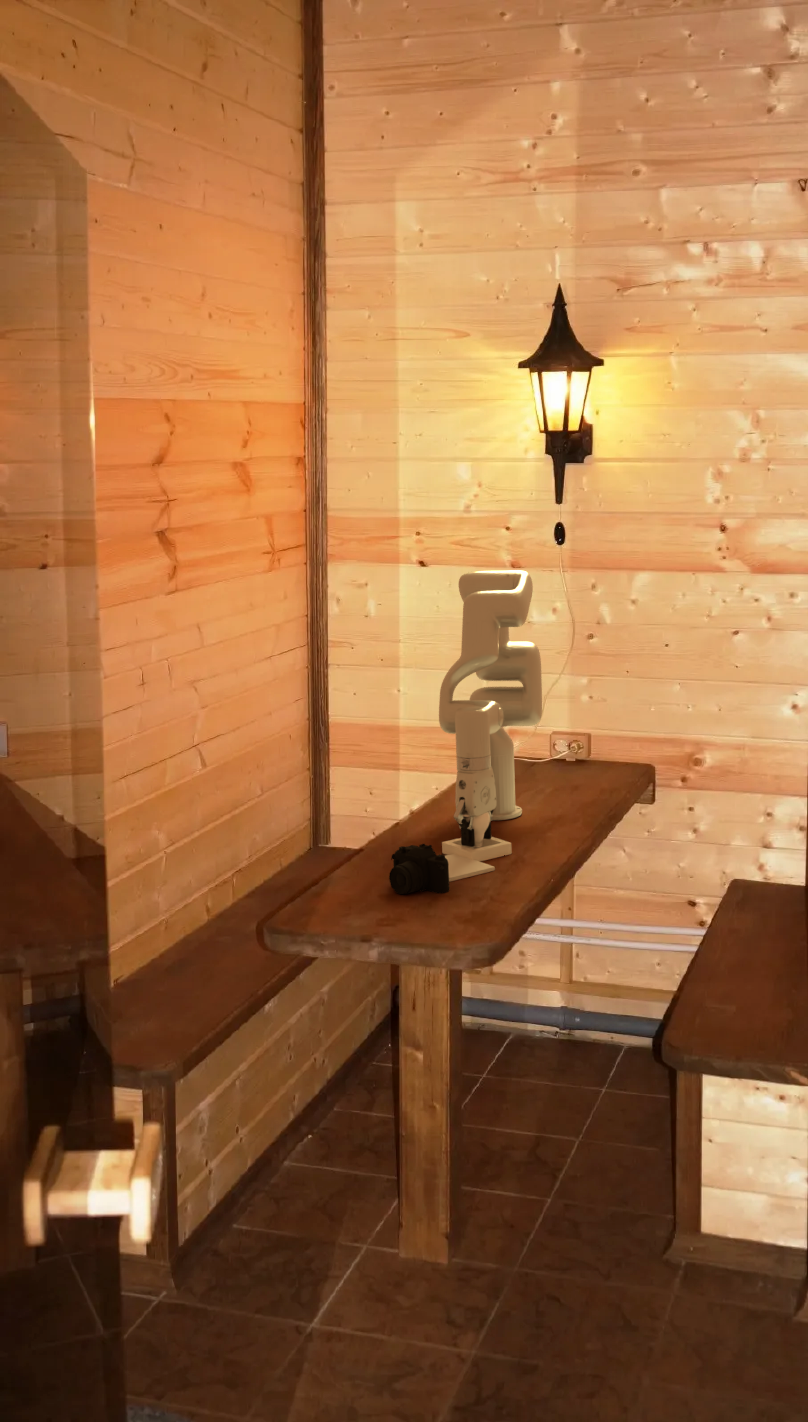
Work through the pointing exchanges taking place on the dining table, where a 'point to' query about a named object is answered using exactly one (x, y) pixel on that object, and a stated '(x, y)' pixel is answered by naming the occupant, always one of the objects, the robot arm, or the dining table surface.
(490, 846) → the socket collar
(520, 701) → the robot arm
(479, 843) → the lightbulb
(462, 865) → the felt mat
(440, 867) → the film camera
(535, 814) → the dining table surface
